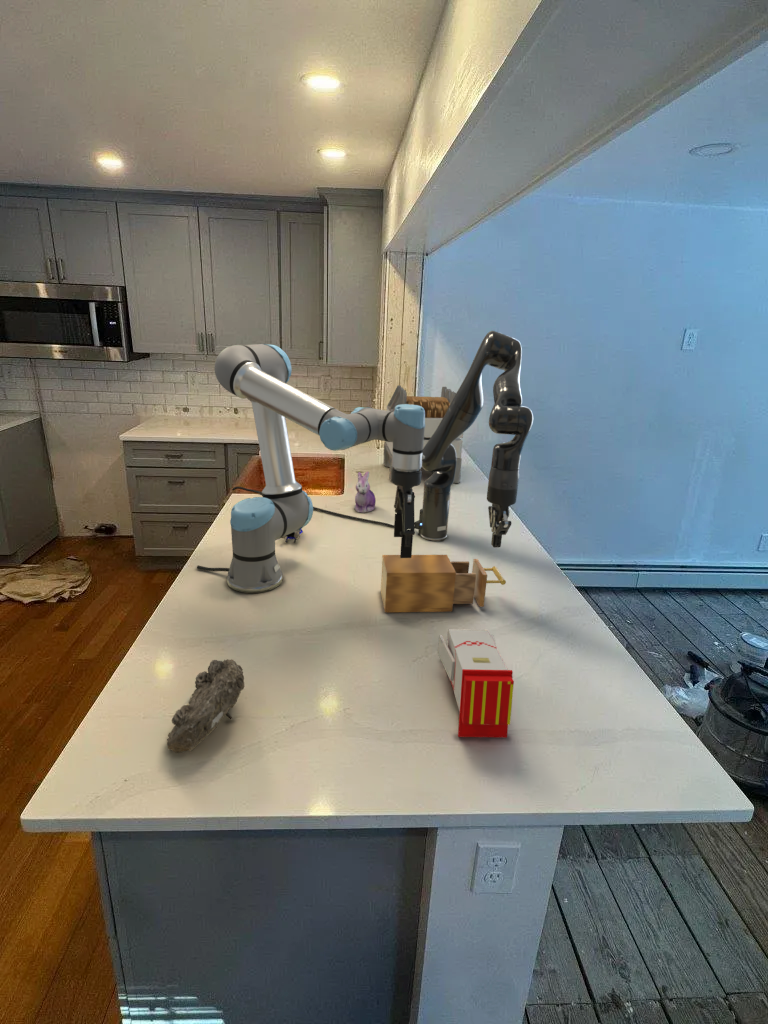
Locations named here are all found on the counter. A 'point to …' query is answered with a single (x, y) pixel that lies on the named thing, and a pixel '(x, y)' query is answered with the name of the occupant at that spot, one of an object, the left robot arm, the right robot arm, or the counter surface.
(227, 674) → the fossil
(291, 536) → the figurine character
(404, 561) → the cabinet
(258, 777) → the counter surface
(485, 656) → the toy
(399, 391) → the grey boxy piece
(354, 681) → the counter surface
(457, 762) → the counter surface
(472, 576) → the drawer
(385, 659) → the counter surface
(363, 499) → the figurine
